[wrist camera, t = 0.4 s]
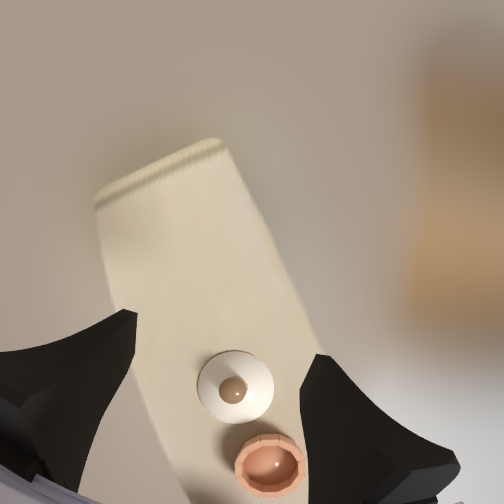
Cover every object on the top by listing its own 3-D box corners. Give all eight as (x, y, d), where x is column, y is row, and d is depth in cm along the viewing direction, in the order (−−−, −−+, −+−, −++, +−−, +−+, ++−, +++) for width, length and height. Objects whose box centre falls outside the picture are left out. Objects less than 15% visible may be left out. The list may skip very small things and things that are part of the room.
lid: (274, 422, 34) (275, 429, 30) (199, 421, 34) (192, 428, 30) (272, 350, 37) (273, 349, 33) (198, 351, 37) (190, 350, 33)
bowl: (302, 486, 30) (304, 495, 27) (238, 488, 30) (236, 497, 27) (302, 431, 33) (305, 437, 30) (236, 433, 33) (234, 439, 30)
